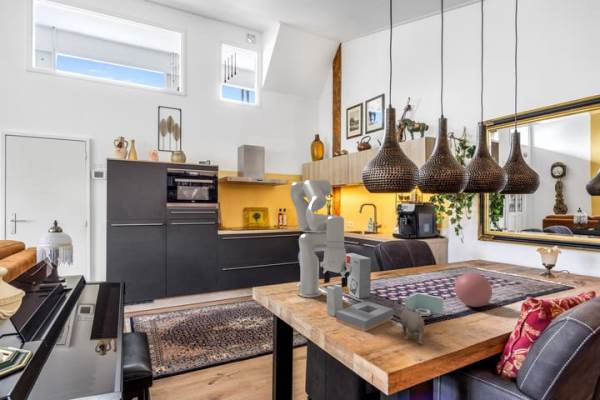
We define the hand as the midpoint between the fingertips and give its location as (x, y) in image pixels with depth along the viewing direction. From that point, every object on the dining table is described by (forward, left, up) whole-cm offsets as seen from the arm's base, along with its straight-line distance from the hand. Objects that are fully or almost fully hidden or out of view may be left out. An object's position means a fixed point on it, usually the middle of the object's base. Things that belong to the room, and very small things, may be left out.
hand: (335, 284), depth 142 cm
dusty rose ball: (+35, +57, -13) cm, 69 cm away
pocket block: (+12, +4, -13) cm, 18 cm away
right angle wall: (+26, +29, -14) cm, 41 cm away
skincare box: (-1, 0, -13) cm, 13 cm away
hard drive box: (-12, +30, -13) cm, 35 cm away
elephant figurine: (+33, +5, -13) cm, 36 cm away
